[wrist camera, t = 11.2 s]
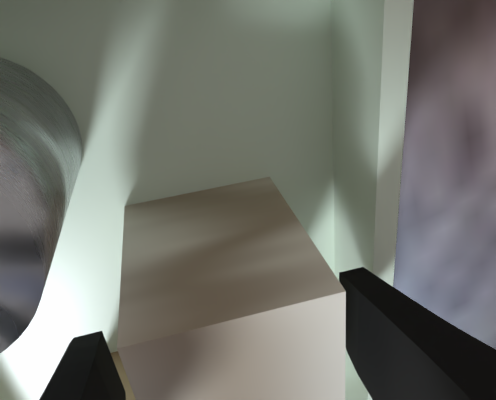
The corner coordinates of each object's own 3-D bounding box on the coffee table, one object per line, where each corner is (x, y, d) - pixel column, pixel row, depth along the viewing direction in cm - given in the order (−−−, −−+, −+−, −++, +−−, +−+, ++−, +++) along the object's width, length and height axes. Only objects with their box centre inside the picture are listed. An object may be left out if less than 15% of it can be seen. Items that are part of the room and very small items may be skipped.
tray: (344, 408, 19) (378, 480, 16) (36, 499, 17) (16, 599, 14) (344, -77, 10) (420, -97, 7) (-301, -2, 8) (-522, 9, 5)
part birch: (269, 176, 12) (346, 290, 8) (279, 287, 14) (344, 428, 9) (124, 206, 11) (116, 348, 7) (156, 317, 13) (166, 482, 9)
